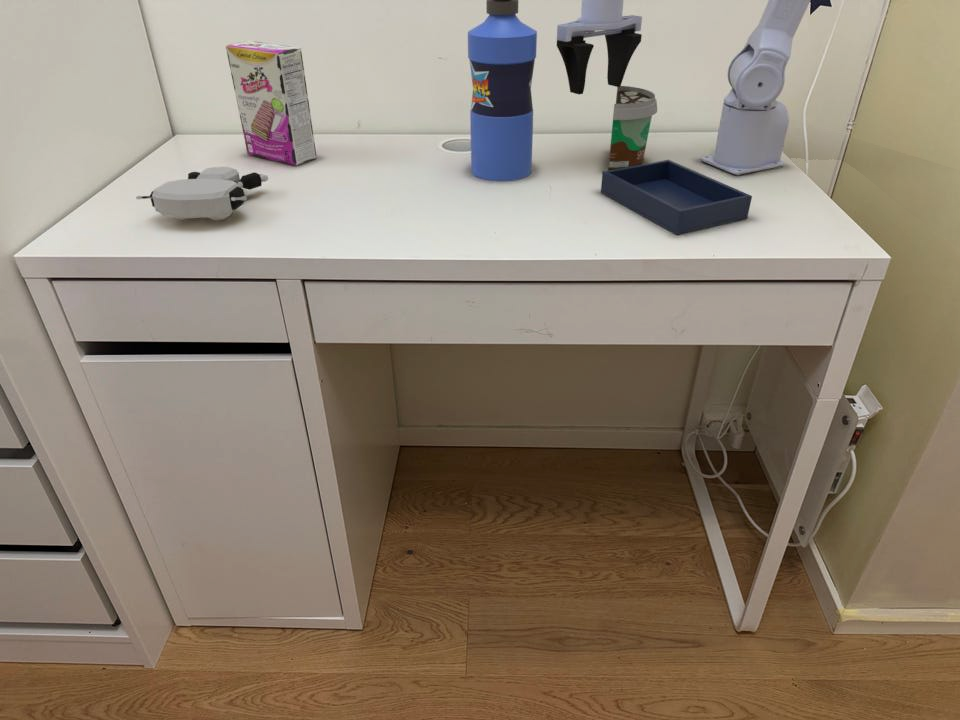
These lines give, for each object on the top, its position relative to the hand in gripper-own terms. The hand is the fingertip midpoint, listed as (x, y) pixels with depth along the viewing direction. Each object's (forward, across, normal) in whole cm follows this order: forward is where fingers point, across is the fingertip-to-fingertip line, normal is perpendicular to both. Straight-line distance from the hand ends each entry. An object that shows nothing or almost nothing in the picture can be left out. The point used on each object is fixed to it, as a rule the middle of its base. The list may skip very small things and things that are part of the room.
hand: (595, 89), depth 102 cm
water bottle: (+10, +14, -4) cm, 18 cm away
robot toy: (+10, +54, -15) cm, 57 cm away
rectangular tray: (+10, +5, +21) cm, 24 cm away
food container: (+10, -3, +5) cm, 12 cm away
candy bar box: (+10, +38, -30) cm, 50 cm away
